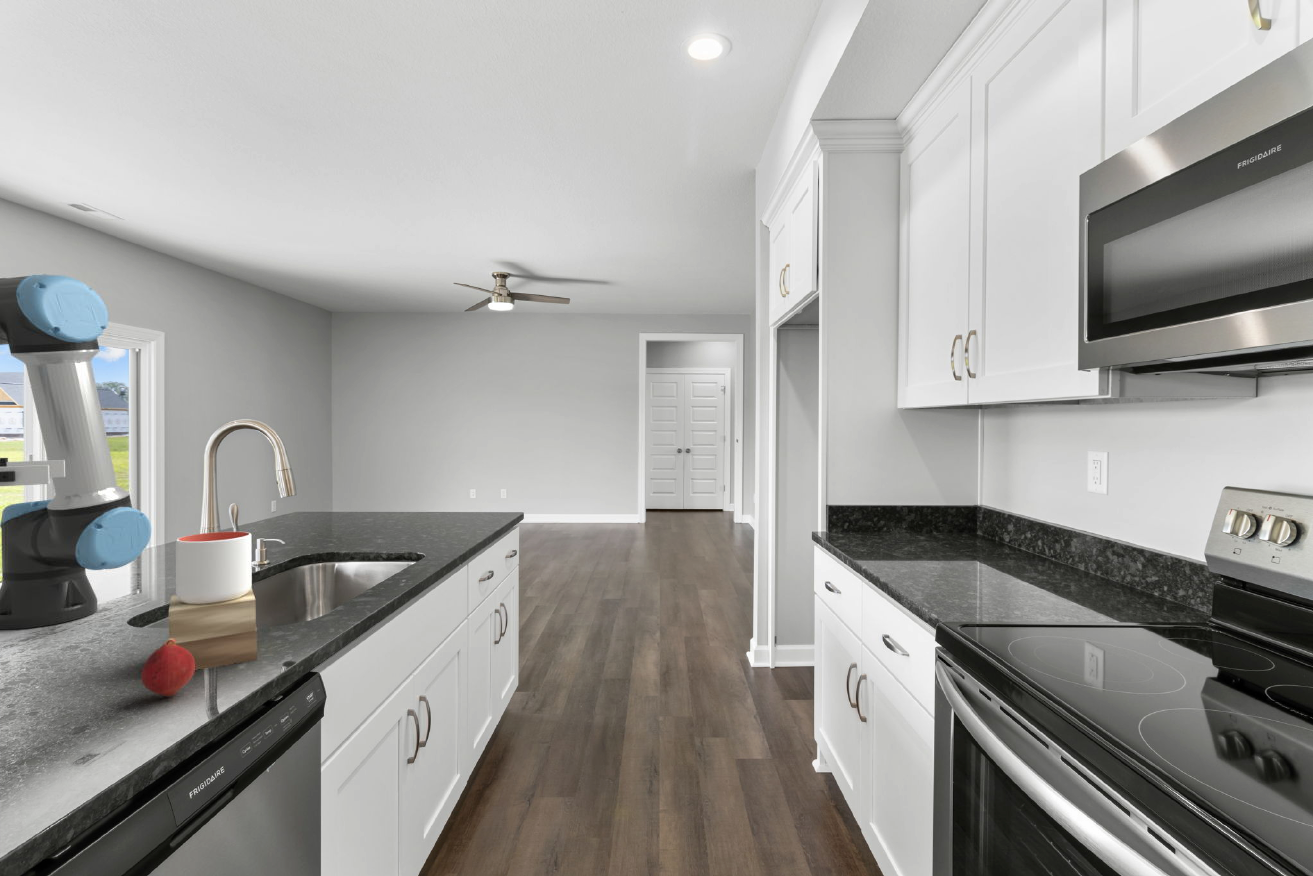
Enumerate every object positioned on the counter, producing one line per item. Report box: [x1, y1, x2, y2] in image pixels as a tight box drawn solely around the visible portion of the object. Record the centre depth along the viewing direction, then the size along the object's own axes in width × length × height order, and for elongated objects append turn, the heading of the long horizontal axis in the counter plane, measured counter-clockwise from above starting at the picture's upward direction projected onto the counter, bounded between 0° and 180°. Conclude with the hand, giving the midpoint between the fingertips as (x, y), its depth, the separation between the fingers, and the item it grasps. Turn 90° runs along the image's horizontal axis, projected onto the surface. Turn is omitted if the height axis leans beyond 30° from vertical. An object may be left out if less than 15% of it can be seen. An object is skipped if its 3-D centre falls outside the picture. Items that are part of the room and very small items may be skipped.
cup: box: [175, 531, 253, 604], centre depth 101 cm, size 10×10×10 cm
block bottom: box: [176, 628, 258, 670], centre depth 101 cm, size 11×11×5 cm
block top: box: [168, 587, 257, 643], centre depth 101 cm, size 11×11×5 cm
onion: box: [140, 638, 196, 698], centre depth 86 cm, size 6×6×8 cm
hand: (57, 471), depth 95 cm, fingers open, 13 cm apart
